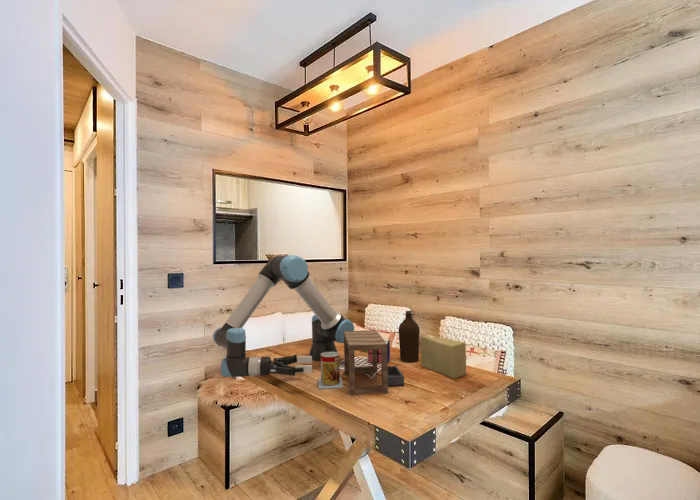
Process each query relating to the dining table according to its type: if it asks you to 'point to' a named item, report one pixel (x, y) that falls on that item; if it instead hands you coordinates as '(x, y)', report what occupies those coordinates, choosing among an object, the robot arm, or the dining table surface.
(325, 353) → the canned food
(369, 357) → the puzzle cube
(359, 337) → the tunnel
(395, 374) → the tray
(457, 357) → the cheese
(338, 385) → the mat
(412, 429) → the dining table surface
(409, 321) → the olive oil
